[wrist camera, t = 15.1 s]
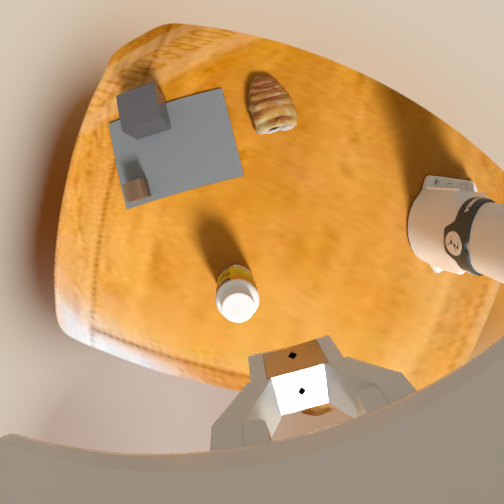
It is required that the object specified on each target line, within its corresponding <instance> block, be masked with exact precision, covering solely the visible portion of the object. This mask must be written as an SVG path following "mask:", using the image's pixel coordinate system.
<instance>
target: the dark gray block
mask: <svg viewBox="0 0 504 504" xmlns="http://www.w3.org/2000/svg"><path fill="white" fill-rule="evenodd" d="M116 97H117V104H118V111H119V117H120V123H121V129H122V131H123V132H124V133H126V134H128V135H130V136H132V137H133V138H135V139H137V140H139V139H142V138H145V137H147V136H150V135H153V134H156V133H159V132H162V131H166V130H169V129H171V125H170V120H169V116H168V111H167V106H166V101H165V97H164V96H163V94H162V93H161V91H160V90H159V88H158V87H157V85H156V84H155V82H152V83H149V84H146V85H143V86H140V87H138V88H135V89H132V90H130V91H127V92H124V93H122V94H120V95H117V96H116Z"/></svg>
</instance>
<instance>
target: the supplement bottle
mask: <svg viewBox="0 0 504 504" xmlns="http://www.w3.org/2000/svg"><path fill="white" fill-rule="evenodd" d="M216 305H217V308H218V310H219V311H220V313H221V314H222V315H224V316H225V317H226V318H227V319H228V320H229V321H232V322H236V323H240V322H244V321H247V320H248V319H249V318H251V316H252V315H253V313H254V312H255V311H256V310H257V308H258V305H259V294H258V291H257V287H256V284H255V281H254V278H253V275H252V273H251V272H250V271H249V270H248V269H247V268H246V267H244V266H241V265H230V266H228V267H226V268H225V269H223V270H222V271H221V273H220V274H219V277H218V281H217V290H216Z"/></svg>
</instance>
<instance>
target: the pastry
mask: <svg viewBox="0 0 504 504" xmlns="http://www.w3.org/2000/svg"><path fill="white" fill-rule="evenodd" d="M248 98H249V106H248V109H249V111H250V112H251V115H252V118H253V122H254V125H255V131H256V132H257V133H258V134H270V133H273V132H276V131H279V130H282V131H286V130H290V129H292V128H294V127H295V126H296V124H297V118H296V117H297V112H296V108H295V106H294V104H293V102H292V99H291V97H290V96H289V94H288V92H287V91H286V90H285V89H284V87H282V86H281V85H280V84H279V82H278V81H277V80H276V79H275V78H273V77H270V76H256V77H255V78H254V79H253V80H252V81H251V83H250V85H249V95H248Z"/></svg>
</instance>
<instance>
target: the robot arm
mask: <svg viewBox="0 0 504 504" xmlns="http://www.w3.org/2000/svg"><path fill="white" fill-rule="evenodd" d="M408 237H409V242H410V245H411V248H412V250H413V252H414V253H415V255H416V256H417V257H418V258H419V259H420V260H422V261H424V262H426V263H428V264H429V265H430V267H431V269H432V270H433V271H434V272H436V273H440V272H442V271H443V270H447V271H450V272H453V273H457V274H463V273H464V272H466V271H467V272H468V273H470V274H473V275H478V276H483V275H485V276H487V277H489V278H492V279H494V280H496V281H499V282H501V283H503V284H504V204H502V203H495V202H494V201H493V200H490V199H489V198H488V196H487V195H486V193H484V192H478V191H477V188H476V186H475V184H474V182H473V181H468V180H462V179H455V178H448V177H441V176H432V175H428V176H426V178H425V180H424V184H423V187H422V190H421V192H420V194H419V195H418V196H417V198H416V199H415V201H414V203H413V205H412V207H411V210H410V214H409V219H408ZM248 361H249V371H250V380H251V383H248V384H246V386H245V387H244V388H243V389H242V391H241V392H240V393H239V394H238V395H237V397H236V398H235V399H234V400H233V402H232V403H231V404H230V405H229V406H228V408H227V409H226V410H225V411H224V412H223V413H222V415H221V416H220V417H219V418H218V420H216V422H215V423H214V424H213V425H212V429H211V445H210V451H204V452H191V453H169V454H168V453H167V454H144V453H142V454H140V453H120V452H107V451H98V450H90V449H82V448H76V447H69V446H64V445H59V444H53V443H49V442H45V441H40V440H36V439H32V438H29V437H25V436H22V435H18V434H8V435H6V436H3V437H1V438H0V504H504V336H503V337H502V338H501V339H499V340H498V341H497V342H496V343H494V344H493V345H491V346H490V347H489V348H487V349H486V350H485V351H483V352H482V353H480V354H479V355H477V356H476V357H474V358H473V359H471V360H470V361H468V362H467V363H465V364H464V365H462V366H460V367H459V368H457V369H456V370H454V371H452V372H451V373H449V374H447V375H446V376H444V377H442V378H440V379H439V380H437V381H435V382H433V383H431V384H430V385H428V386H426V387H424V388H422V389H420V390H418V391H416V389H415V388H414V387H413V386H412V385H411V383H410V382H409V381H408V380H407V379H406V378H405V376H404V375H403V374H402V373H400V372H396V371H393V370H389V369H386V368H383V367H379V366H376V365H373V364H369V363H366V362H363V361H360V360H357V359H353V358H350V357H345V358H344V357H343V356H342V354H341V353H340V351H339V350H338V348H337V346H336V345H335V343H334V342H333V340H332V339H331V337H330V336H329V335H326V336H323V337H320V338H317V339H315V340H312V341H308V342H305V343H302V344H298V345H295V346H291V347H286V348H282V349H277V350H273V351H268V352H264V353H263V354H262V353H259V354H255V355H251V356H249V357H248ZM327 402H329V403H330V404H331V405H333V406H334V407H336V408H338V409H339V410H341V411H343V412H345V413H346V414H348V415H350V416H351V417H353V419H350V420H348V421H345V422H342V423H339V424H336V425H333V426H330V427H326V428H323V429H320V430H316V431H313V432H309V433H305V434H302V435H298V436H294V437H290V438H285V439H281V440H277V441H272V436H273V434H274V432H275V430H276V428H277V426H278V424H279V421H280V419H281V417H282V415H283V414H287V413H290V412H294V411H298V410H301V409H304V408H308V407H312V406H316V405H320V404H323V403H327Z"/></svg>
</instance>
